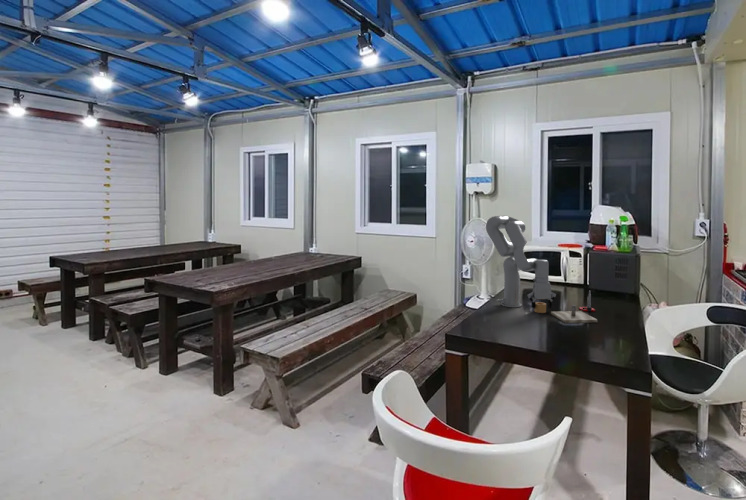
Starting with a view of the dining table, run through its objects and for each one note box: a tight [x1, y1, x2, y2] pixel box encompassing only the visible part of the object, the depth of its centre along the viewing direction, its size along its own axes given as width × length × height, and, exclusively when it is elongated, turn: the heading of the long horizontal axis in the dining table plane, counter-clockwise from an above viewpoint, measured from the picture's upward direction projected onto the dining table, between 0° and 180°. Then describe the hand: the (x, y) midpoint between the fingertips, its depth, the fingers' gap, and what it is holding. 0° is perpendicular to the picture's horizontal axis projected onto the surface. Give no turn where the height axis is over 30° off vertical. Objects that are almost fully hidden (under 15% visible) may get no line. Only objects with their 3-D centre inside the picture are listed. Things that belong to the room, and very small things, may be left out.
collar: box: [533, 301, 547, 314], centre depth 257 cm, size 6×6×5 cm
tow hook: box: [578, 290, 596, 313], centre depth 260 cm, size 8×13×9 cm
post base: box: [550, 304, 598, 324], centre depth 243 cm, size 18×18×8 cm
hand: (541, 307), depth 257 cm, fingers open, 9 cm apart
